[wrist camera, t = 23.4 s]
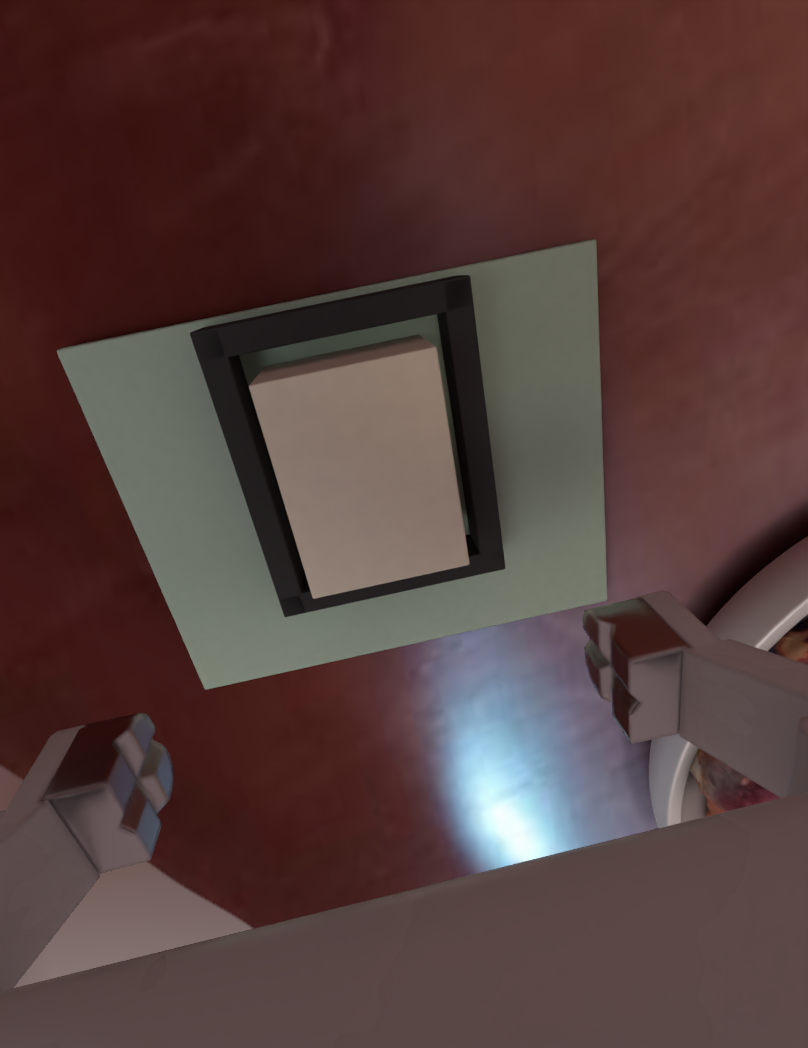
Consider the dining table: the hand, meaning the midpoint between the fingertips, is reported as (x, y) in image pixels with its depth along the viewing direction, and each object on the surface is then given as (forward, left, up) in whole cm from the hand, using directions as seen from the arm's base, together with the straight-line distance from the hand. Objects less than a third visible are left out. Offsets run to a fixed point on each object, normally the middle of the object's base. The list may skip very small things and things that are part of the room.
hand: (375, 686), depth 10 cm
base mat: (+1, -2, -15) cm, 15 cm away
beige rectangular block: (+1, 0, -14) cm, 14 cm away
